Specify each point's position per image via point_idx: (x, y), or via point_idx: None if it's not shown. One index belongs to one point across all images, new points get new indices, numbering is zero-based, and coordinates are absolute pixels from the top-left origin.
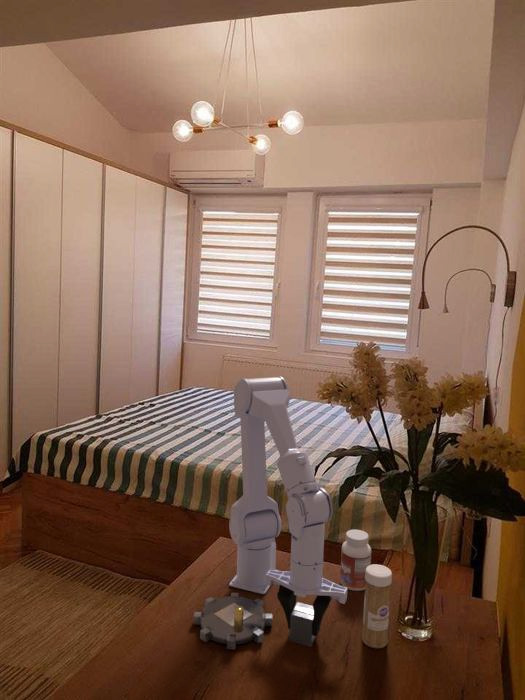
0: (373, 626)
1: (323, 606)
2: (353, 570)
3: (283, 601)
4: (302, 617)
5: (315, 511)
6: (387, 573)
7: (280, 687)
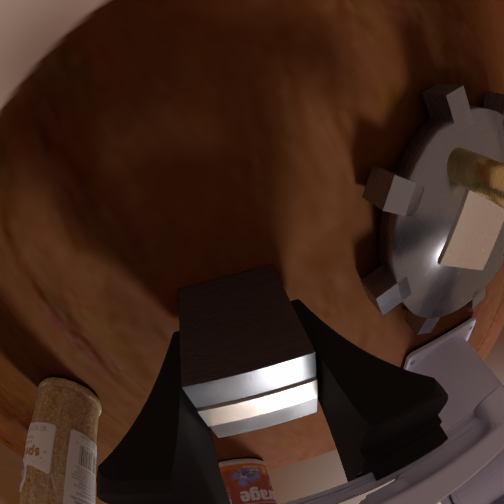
0: (37, 431)
1: (102, 491)
2: (234, 500)
3: (394, 389)
4: (241, 373)
5: None
6: None
7: (153, 4)
